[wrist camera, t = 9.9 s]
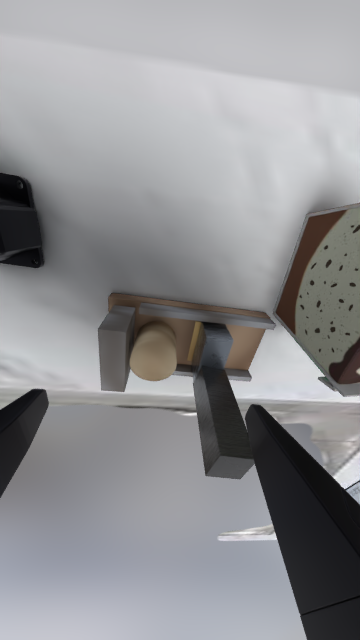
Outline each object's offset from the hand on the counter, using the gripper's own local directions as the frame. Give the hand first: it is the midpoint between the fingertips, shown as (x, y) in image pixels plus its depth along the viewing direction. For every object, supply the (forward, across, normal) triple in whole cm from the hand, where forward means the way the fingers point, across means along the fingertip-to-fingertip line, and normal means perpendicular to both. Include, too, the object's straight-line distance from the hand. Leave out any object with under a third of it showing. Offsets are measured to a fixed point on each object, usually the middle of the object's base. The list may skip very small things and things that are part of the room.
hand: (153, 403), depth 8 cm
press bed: (+12, -3, +4) cm, 13 cm away
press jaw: (+11, -5, +4) cm, 12 cm away
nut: (+11, 0, +4) cm, 11 cm away
